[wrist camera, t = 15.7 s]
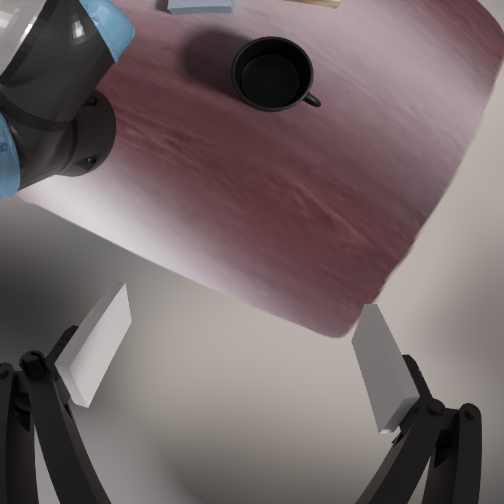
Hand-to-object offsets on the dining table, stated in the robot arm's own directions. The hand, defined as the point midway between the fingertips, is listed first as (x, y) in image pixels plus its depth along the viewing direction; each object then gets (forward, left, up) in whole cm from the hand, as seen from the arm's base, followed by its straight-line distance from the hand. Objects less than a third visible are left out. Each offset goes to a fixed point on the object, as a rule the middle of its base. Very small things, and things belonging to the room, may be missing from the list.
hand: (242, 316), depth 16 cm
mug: (+2, +15, -32) cm, 35 cm away
